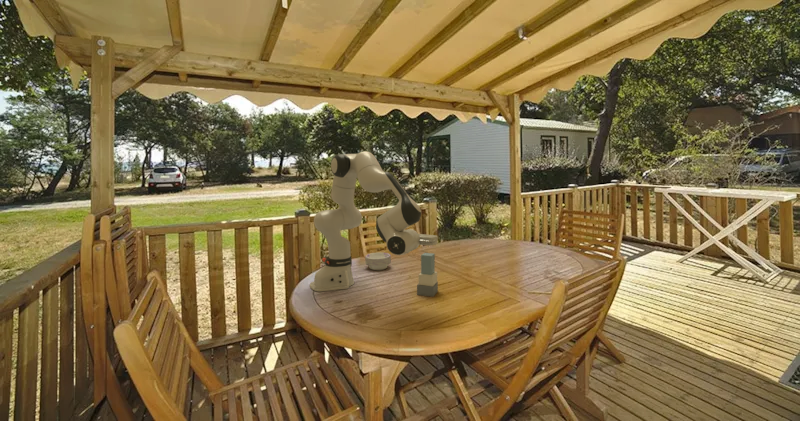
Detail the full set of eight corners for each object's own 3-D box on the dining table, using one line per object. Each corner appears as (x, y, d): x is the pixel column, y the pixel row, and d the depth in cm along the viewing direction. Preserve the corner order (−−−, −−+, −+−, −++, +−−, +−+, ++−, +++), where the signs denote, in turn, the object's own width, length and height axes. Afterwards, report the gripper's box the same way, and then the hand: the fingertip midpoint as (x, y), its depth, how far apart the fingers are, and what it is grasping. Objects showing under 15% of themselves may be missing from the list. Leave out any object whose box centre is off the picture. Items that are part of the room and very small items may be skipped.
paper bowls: (361, 266, 220) (361, 253, 219) (385, 263, 226) (385, 250, 225) (370, 273, 206) (370, 259, 205) (395, 269, 213) (395, 256, 212)
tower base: (433, 297, 169) (433, 286, 168) (417, 295, 172) (417, 285, 171) (437, 291, 176) (437, 281, 176) (421, 289, 179) (421, 279, 178)
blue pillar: (431, 274, 170) (431, 256, 169) (421, 273, 172) (421, 255, 171) (434, 272, 174) (434, 253, 173) (424, 270, 176) (424, 252, 175)
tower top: (432, 286, 169) (432, 275, 168) (418, 284, 172) (418, 274, 171) (437, 281, 175) (437, 271, 175) (423, 280, 178) (423, 270, 177)
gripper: (434, 234, 144) (441, 231, 158) (386, 230, 151) (396, 227, 164) (433, 250, 145) (440, 245, 158) (385, 245, 151) (396, 241, 164)
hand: (418, 236), depth 161 cm, fingers open, 8 cm apart
